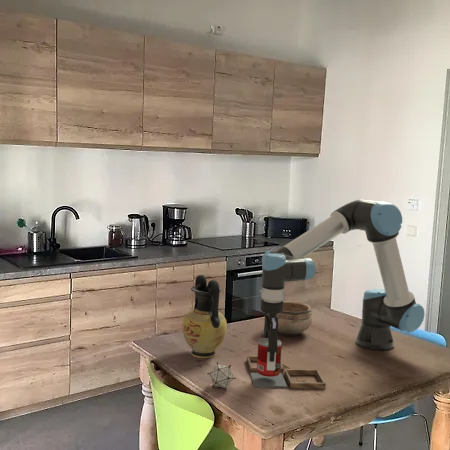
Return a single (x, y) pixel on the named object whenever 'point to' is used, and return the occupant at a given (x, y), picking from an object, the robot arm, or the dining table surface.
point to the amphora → (204, 320)
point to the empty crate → (304, 384)
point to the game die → (221, 376)
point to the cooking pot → (294, 318)
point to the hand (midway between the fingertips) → (268, 364)
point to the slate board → (268, 381)
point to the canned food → (263, 358)
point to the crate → (254, 370)
